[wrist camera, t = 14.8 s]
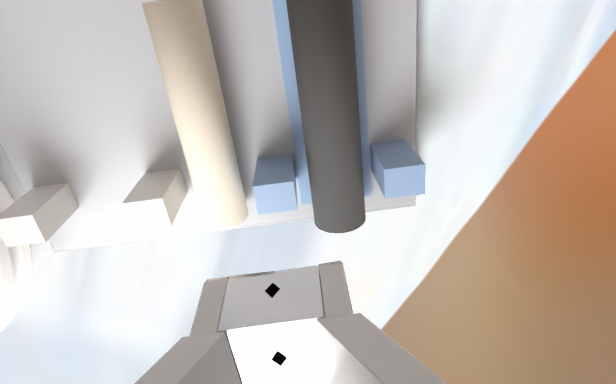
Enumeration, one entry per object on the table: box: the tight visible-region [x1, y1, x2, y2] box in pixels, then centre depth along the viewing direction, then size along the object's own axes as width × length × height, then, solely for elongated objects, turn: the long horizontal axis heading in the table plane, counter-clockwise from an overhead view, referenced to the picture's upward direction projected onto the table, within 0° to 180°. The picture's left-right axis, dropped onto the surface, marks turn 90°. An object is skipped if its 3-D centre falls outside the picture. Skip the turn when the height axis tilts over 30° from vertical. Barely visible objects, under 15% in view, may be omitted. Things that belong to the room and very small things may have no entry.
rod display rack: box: [0, 0, 425, 252], centre depth 25 cm, size 18×28×6 cm, turn 97°
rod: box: [142, 0, 248, 230], centre depth 25 cm, size 14×3×3 cm, turn 7°
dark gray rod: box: [286, 0, 365, 233], centre depth 24 cm, size 16×4×4 cm, turn 7°
